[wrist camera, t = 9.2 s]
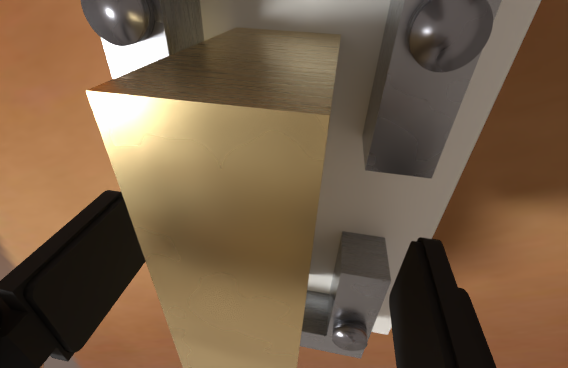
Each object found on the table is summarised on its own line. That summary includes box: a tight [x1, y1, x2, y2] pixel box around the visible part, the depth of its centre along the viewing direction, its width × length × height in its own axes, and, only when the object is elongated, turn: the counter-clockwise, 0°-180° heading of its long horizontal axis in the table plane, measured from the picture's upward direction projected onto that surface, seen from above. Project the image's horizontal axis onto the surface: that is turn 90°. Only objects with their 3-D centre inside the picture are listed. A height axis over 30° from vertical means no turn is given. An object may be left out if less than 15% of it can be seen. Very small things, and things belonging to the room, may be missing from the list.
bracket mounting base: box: [81, 0, 502, 358], centre depth 12 cm, size 10×18×3 cm, turn 178°
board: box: [200, 0, 541, 335], centre depth 13 cm, size 14×21×1 cm, turn 178°
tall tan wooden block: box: [86, 27, 341, 368], centre depth 10 cm, size 4×12×7 cm, turn 178°
